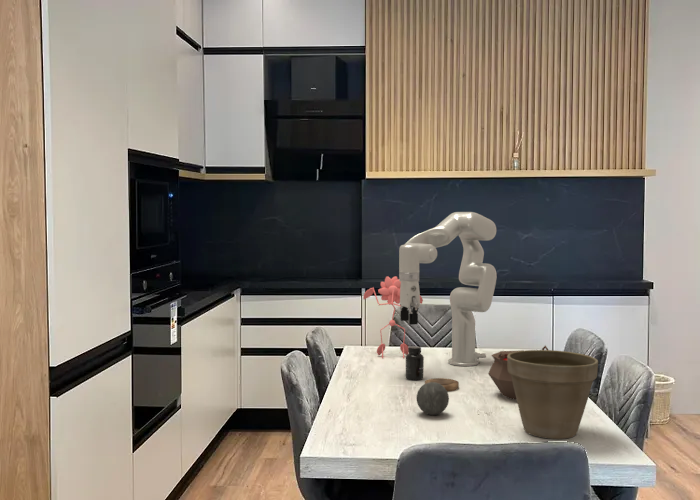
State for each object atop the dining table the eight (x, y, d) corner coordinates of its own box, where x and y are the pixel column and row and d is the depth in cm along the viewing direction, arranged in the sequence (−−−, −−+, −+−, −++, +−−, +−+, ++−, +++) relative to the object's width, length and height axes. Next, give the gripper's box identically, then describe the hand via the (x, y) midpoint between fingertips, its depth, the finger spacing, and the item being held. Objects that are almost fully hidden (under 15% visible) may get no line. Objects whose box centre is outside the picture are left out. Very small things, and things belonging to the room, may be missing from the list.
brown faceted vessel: (525, 408, 234) (525, 358, 233) (473, 393, 254) (473, 346, 253) (575, 398, 247) (575, 350, 246) (522, 384, 267) (522, 339, 266)
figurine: (423, 358, 313) (423, 277, 312) (363, 358, 314) (363, 277, 313) (421, 352, 329) (421, 275, 328) (364, 352, 330) (363, 275, 329)
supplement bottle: (424, 380, 273) (424, 349, 272) (405, 380, 273) (406, 348, 272) (422, 376, 280) (422, 345, 279) (404, 376, 280) (405, 345, 279)
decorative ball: (415, 418, 223) (415, 385, 223) (417, 409, 233) (417, 378, 233) (448, 419, 222) (448, 386, 221) (448, 410, 232) (448, 379, 231)
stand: (449, 382, 270) (450, 376, 269) (464, 390, 258) (464, 384, 258) (419, 385, 266) (419, 379, 266) (433, 392, 255) (433, 386, 254)
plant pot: (579, 419, 222) (580, 348, 221) (611, 444, 197) (612, 365, 196) (497, 420, 221) (498, 348, 220) (519, 446, 196) (519, 366, 195)
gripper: (426, 279, 268) (426, 325, 269) (410, 275, 285) (410, 319, 286) (407, 279, 266) (407, 326, 267) (392, 275, 283) (392, 319, 284)
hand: (408, 322), depth 276 cm, fingers open, 9 cm apart
